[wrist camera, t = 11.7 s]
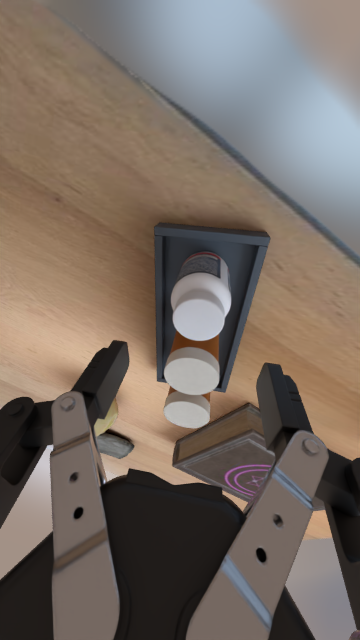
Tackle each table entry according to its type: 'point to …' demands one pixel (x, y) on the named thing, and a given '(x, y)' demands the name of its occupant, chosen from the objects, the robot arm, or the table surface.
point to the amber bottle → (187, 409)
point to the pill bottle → (201, 296)
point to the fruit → (107, 419)
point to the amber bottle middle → (193, 365)
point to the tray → (244, 269)
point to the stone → (114, 445)
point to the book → (229, 454)
